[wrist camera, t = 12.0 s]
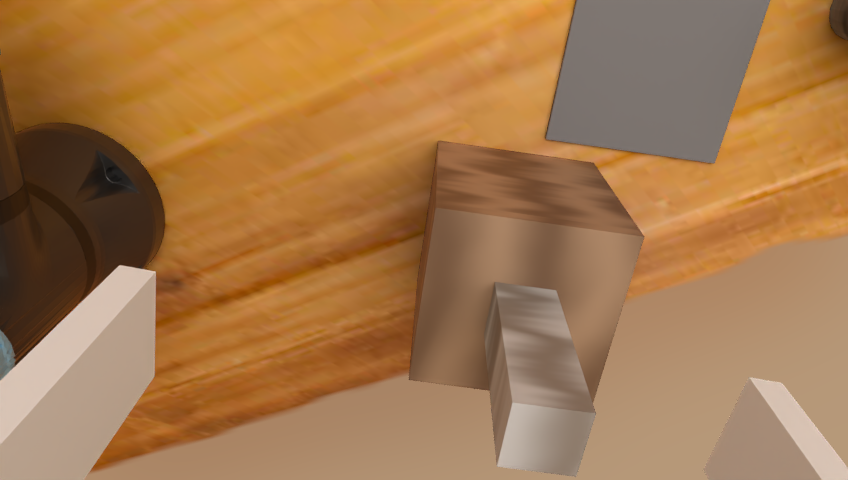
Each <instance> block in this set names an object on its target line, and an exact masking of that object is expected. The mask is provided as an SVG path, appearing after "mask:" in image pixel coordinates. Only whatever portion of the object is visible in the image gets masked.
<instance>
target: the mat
mask: <svg viewBox="0 0 848 480" xmlns="http://www.w3.org/2000/svg"><path fill="white" fill-rule="evenodd" d="M769 2H770V0H576V3H575V7H574V12H573V16H572V21H571V25H570V29H569V34H568V38H567V43H566V47H565V52H564V56H563V61H562V65H561V70H560V74H559V79H558V83H557V88H556V92H555V97H554V101H553V106H552V110H551V115H550V119H549V124H548V128H547V133H546V137H545V138H546V139H548V140H555V141H562V142H569V143H576V144H583V145H590V146H597V147H604V148H611V149H618V150H625V151H632V152H639V153H646V154H653V155H659V156H666V157H673V158H680V159H687V160H694V161H701V162H708V163H715V160H716V157H717V155H718V152H719V149H720V146H721V143H722V140H723V137H724V134H725V131H726V128H727V125H728V122H729V119H730V117H731V114H732V111H733V108H734V105H735V102H736V99H737V96H738V93H739V90H740V87H741V84H742V81H743V78H744V76H745V73H746V70H747V67H748V64H749V61H750V58H751V55H752V52H753V49H754V46H755V43H756V40H757V38H758V35H759V32H760V29H761V26H762V23H763V20H764V17H765V14H766V11H767V8H768V5H769Z"/></svg>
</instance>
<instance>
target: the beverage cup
mask: <svg viewBox="0 0 848 480" xmlns="http://www.w3.org/2000/svg"><path fill="white" fill-rule="evenodd" d="M829 20H830V24H831V28H832V29H833V30H834V32H835V33H836V34H837V35H838V36H840V37H841V38H843V39H846V40H848V0H834V1H833V3H832V6H831V8H830V16H829Z"/></svg>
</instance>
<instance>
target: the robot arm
mask: <svg viewBox="0 0 848 480" xmlns="http://www.w3.org/2000/svg"><path fill="white" fill-rule="evenodd" d="M0 55H1V50H0ZM163 233H164V211H163V206H162V201H161V198H160V195H159V193H158V190H157V188H156V186H155V184H154V182H153V180H152V178H151V177H150V175H149V174H148V172H147V171H146V169H145V168H144V167H143V165H142V164H141V163H140V162H139V161H138V160H137V159H136V158H135V157H134V156H133V155H132V154H131V153H130V152H129V151H128V150H127V149H125V148H124V147H123V146H122V145H120V144H119V143H117V142H116V141H114V140H113V139H111V138H109V137H108V136H106V135H104V134H102V133H100V132H97V131H95V130H92V129H90V128H87V127H83V126H79V125H74V124H68V123H46V124H40V125H36V126H33V127H30V128H27V129H25V130H23V131H20V132H18V133H16V134H15V132H14V127H13V123H12V119H11V114H10V110H9V106H8V101H7V97H6V93H5V88H4V84H3V80H2V75H1V71H0V480H84V479H85V477H86V476H87V475H88V473H89V472H90V470H91V469H92V467H93V466H94V464H95V463H96V461H97V460H98V458H99V457H100V456H101V454H102V453H103V451H104V450H105V448H106V447H107V445H108V444H109V442H110V441H111V439H112V438H113V436H114V435H115V434H116V432H117V431H118V429H119V428H120V426H121V425H122V423H123V422H124V420H125V419H126V417H127V416H128V414H129V413H130V412H131V410H132V409H133V407H134V406H135V404H136V403H137V401H138V400H139V398H140V397H141V395H142V394H143V392H144V391H145V390H146V388H147V387H148V385H149V384H150V382H151V381H152V379H153V378H154V376H155V310H156V271H150V270H145V269H144V268H145V267H146V266H147V265H148V264H149V263H150V261H151V260H152V259H153V258H154V256H155V255H156V253H157V251H158V249H159V247H160V244H161V242H162V238H163ZM80 301H82V302H81V303H80V304H79V305H78V306H77V307H76V308H75V309H74V310H73V311H72V312H71V313H70V314H69V315H68V316H67V317H66V318H65V319H63V318H64V317H65V316H66V315H67V314H68V313H69V312H70V311H71V310H72V309H73V308H74V307H75V306H76V305H77V304H78V303H79V302H80ZM62 319H63V320H62ZM61 320H62V321H61ZM60 321H61V322H60ZM59 322H60V323H59ZM58 323H59V324H58ZM57 324H58V325H57ZM56 325H57V326H56ZM55 326H56V327H55ZM54 327H55V328H54ZM53 328H54V329H53ZM52 329H53V330H52ZM51 330H52V331H51ZM50 331H51V332H50ZM49 332H50V333H49ZM48 333H49V334H48ZM47 334H48V335H47ZM46 335H47V336H46ZM45 336H46V337H45ZM44 337H45V338H44ZM43 338H44V339H43ZM42 339H43V340H42ZM41 340H42V341H41ZM40 341H41V342H40ZM39 342H40V343H39ZM38 343H39V344H38ZM37 344H38V345H37ZM36 345H37V346H36ZM35 346H36V347H35ZM34 347H35V348H34ZM33 348H34V349H33ZM32 349H33V350H32ZM704 471H705V473H706V475H707V477H708V479H709V480H848V468H847V466H846V465H845V464H844V463H843V461H842V460H841V458H840V457H839V456H838V455H837V453H836V452H835V451H834V449H833V448H832V447H831V446H830V444H829V443H828V442H827V440H826V439H825V438H824V437H823V435H822V434H821V433H820V431H819V430H818V429H817V428H816V426H815V425H814V424H813V422H812V421H811V420H810V419H809V417H808V416H807V415H806V413H805V412H804V411H803V410H802V408H801V407H800V406H799V405H798V403H797V402H796V400H795V399H794V398H793V397H792V395H791V394H790V393H789V391H788V390H787V389H786V388H785V386H784V385H783V384H782V383H779V382H773V381H767V380H762V379H756V378H751V377H749V378H748V380H747V382H746V384H745V386H744V389H743V390H742V393H741V395H740V397H739V399H738V401H737V403H736V405H735V407H734V409H733V411H732V413H731V415H730V417H729V419H728V421H727V423H726V425H725V427H724V429H723V431H722V433H721V435H720V437H719V439H718V441H717V443H716V445H715V448H714V450H713V452H712V454H711V456H710V458H709V460H708V462H707V464H706V466H705V468H704Z"/></svg>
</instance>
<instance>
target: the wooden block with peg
mask: <svg viewBox="0 0 848 480" xmlns="http://www.w3.org/2000/svg"><path fill="white" fill-rule="evenodd" d="M643 240H644V236H643V234H642V233H641V231H640V230H639V228H638V227H637V225H636V224H635V223H634V221H633V220H632V218H631V217H630V215H629V214H628V212H627V211H626V209H625V208H624V207H623V205H622V204H621V202H620V201H619V199H618V198H617V196H616V195H615V194H614V192H613V191H612V189H611V188H610V186H609V185H608V183H607V182H606V180H605V179H604V178H603V176H602V175H601V173H600V172H599V170H598V169H597V167H596V166H595V164H594V163H591V162H584V161H577V160H570V159H563V158H556V157H549V156H542V155H535V154H528V153H521V152H514V151H507V150H500V149H493V148H486V147H479V146H472V145H465V144H458V143H451V142H444V141H438V147H437V154H436V160H435V167H434V174H433V180H432V187H431V194H430V200H429V207H428V213H427V220H426V227H425V233H424V240H423V247H422V253H421V260H420V266H419V273H418V280H417V292H416V303H415V315H414V326H413V337H412V349H411V360H410V371H409V380H414V381H421V382H429V383H436V384H444V385H452V386H459V387H467V388H474V389H482V390H489V391H490V400H491V411H492V420H493V431H494V441H495V451H496V462H497V467H505V468H513V469H521V470H528V471H536V472H544V473H551V474H559V475H567V476H575V477H576V475H577V472H578V469H579V466H580V463H581V460H582V456H583V453H584V450H585V447H586V444H587V440H588V437H589V434H590V431H591V427H592V424H593V421H594V418H595V415H596V412H595V409H594V406H593V401H594V398H595V395H596V391H597V388H598V385H599V382H600V379H601V375H602V372H603V369H604V365H605V362H606V359H607V356H608V353H609V349H610V346H611V343H612V339H613V337H614V333H615V330H616V327H617V324H618V320H619V317H620V314H621V311H622V307H623V304H624V301H625V298H626V294H627V291H628V288H629V285H630V282H631V278H632V275H633V272H634V269H635V265H636V262H637V259H638V256H639V252H640V249H641V246H642V243H643Z"/></svg>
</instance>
